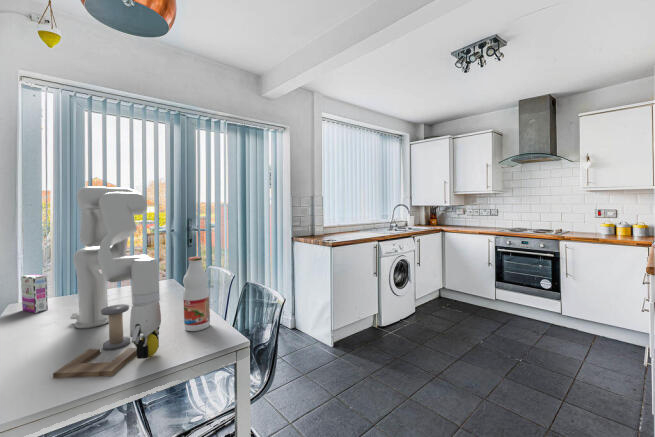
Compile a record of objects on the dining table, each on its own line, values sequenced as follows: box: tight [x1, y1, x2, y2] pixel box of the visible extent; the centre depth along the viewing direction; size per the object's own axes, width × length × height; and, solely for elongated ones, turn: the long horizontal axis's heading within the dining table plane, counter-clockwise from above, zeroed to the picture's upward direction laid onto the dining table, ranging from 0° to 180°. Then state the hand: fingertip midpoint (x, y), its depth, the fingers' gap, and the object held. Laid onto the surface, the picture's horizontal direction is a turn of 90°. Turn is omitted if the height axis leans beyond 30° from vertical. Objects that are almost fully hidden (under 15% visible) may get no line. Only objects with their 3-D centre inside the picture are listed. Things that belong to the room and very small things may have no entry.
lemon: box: [140, 334, 160, 359], centre depth 96 cm, size 6×6×8 cm
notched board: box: [52, 347, 137, 379], centre depth 93 cm, size 16×14×2 cm
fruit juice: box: [182, 255, 211, 332], centre depth 119 cm, size 9×9×28 cm
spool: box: [101, 303, 131, 351], centre depth 105 cm, size 8×8×13 cm
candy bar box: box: [20, 273, 49, 314], centre depth 140 cm, size 11×5×16 cm, turn 68°
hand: (148, 352), depth 96 cm, fingers closed on lemon, 5 cm apart
